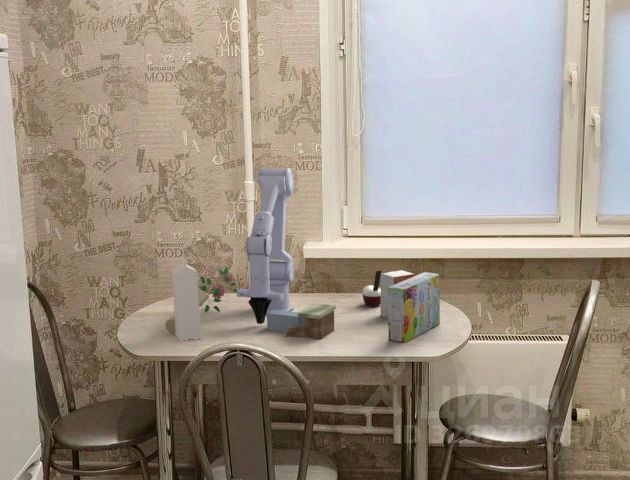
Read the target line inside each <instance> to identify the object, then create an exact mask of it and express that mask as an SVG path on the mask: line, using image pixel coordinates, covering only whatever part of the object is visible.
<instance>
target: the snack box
mask: <svg viewBox="0 0 630 480" xmlns="http://www.w3.org/2000/svg"><path fill="white" fill-rule="evenodd" d="M440 294H441V293H440V273H433V272H425V271H424V272H422V273H419V274H416V275H414V277H412V278H409V279H407V280H405V281H402V282H400V283H397V284H395V285H392V286H390V287H388V329H387V330H388V341H393V342H398V343H406V342H409V341H410V340H412V339H414V338H417V337H418V336H419V335H422V334H423V333H425V332H427V331H429V330H431V329H433V328H434V327H437V326H438V325H440V324H441V315H440V314H441V313H440V311H441V309H440V305H441V304H440V303H441V302H440V301H441V299H440V296H441V295H440Z"/></svg>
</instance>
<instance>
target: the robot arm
mask: <svg viewBox="0 0 630 480" xmlns="http://www.w3.org/2000/svg"><path fill="white" fill-rule="evenodd" d="M257 184H258V187H259V190H260V192H261V194H260V195H261V198H260V205H259V212H258V213H256V214H255V215H254V218H253V223H252V227H251V233H250V236H248V237H247V238H246V241H245V252H246V257H247V258H246V259H247V262H248V264H249V265H248V266H249V268H248V269H249V275H248V276H249V288H239V289H237V293H236V297H237V298H241V297H243V298H250V300H248V305H250V307H251V310H252V311H253V315H254V316H255V320H256V324H258V325H262V324H264V323H265V320H266V317H267V313H268V312H270V311H272V310H281V311H290V312H291V310H294V309H295V306H290V297H289V296H290V293H289V292H290V291H289V290H290V289H289V287H290V285H289V283H291V282H292V280H293V279H294V275H295V268H294V259H293V257H292V255H291V254H289V253H288V252H287V251H286V250H285V249H286V247H285V246H286V245H285V244H286V223H287V222H286V220H287V202H288V198H289V197H290V196H292V195H293V191H294V190H293V189H294V174H293V170H291V168H290V167H287V168H277V167H276V168H275V167H274V168H273V167H272V168H271V167H270V168H269V167H268V168H264V167H260V168H259V170H258V171H257ZM274 260H275V261H274Z"/></svg>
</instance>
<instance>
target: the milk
mask: <svg viewBox="0 0 630 480" xmlns="http://www.w3.org/2000/svg"><path fill="white" fill-rule="evenodd" d="M172 284H173V285H172V286H173V287H172V289H173V290H172V291H173V305H174V306H173V308H174V309H173V310H174V315H175V334H174V335H175V337H176V336H177V337H176V339H177V338H178V339H177V340H185V341H187V340H186V339H195V338H200V339H201V328H200V327H201V326H200V307H199V300H198V286H199V279H198V271H197V270H196V269H195V268H194V267H193V266H190V265H188V264H187V260H186V259H185V258H184V257H182V263H180V264H179V265H177V266H176V267H174V268H173V269H172ZM195 340H196V339H195Z"/></svg>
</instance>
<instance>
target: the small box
mask: <svg viewBox="0 0 630 480" xmlns="http://www.w3.org/2000/svg"><path fill="white" fill-rule="evenodd" d="M414 276H415V273H412V272H409V271H405V270H402V269H401V270H395V271H389V272H384V273H382V272H381V276H380V289H381V304H380V316H383V317H385V318H388V287H390V286H392V285H395V284H397V283H400V282H402V281H405V280H407V279H409V278H412V277H414Z"/></svg>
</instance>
